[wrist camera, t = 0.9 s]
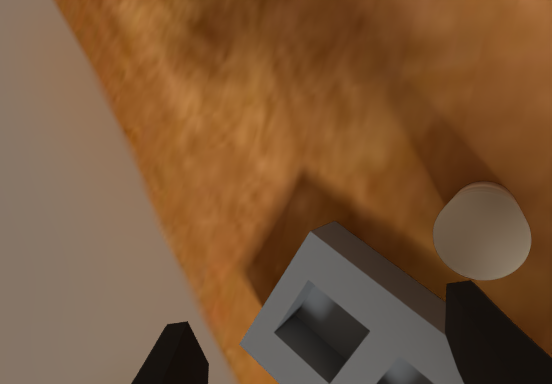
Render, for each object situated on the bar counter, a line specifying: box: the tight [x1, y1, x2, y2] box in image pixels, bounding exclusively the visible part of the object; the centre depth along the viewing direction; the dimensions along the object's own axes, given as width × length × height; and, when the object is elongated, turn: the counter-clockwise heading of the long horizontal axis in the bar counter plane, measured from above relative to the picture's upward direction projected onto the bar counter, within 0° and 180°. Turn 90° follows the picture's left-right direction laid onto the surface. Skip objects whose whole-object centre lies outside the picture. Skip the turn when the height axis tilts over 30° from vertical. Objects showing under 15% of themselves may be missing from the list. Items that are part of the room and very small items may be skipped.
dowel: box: [433, 181, 531, 280], centre depth 18 cm, size 3×3×8 cm
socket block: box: [239, 221, 464, 384], centre depth 23 cm, size 13×9×4 cm
